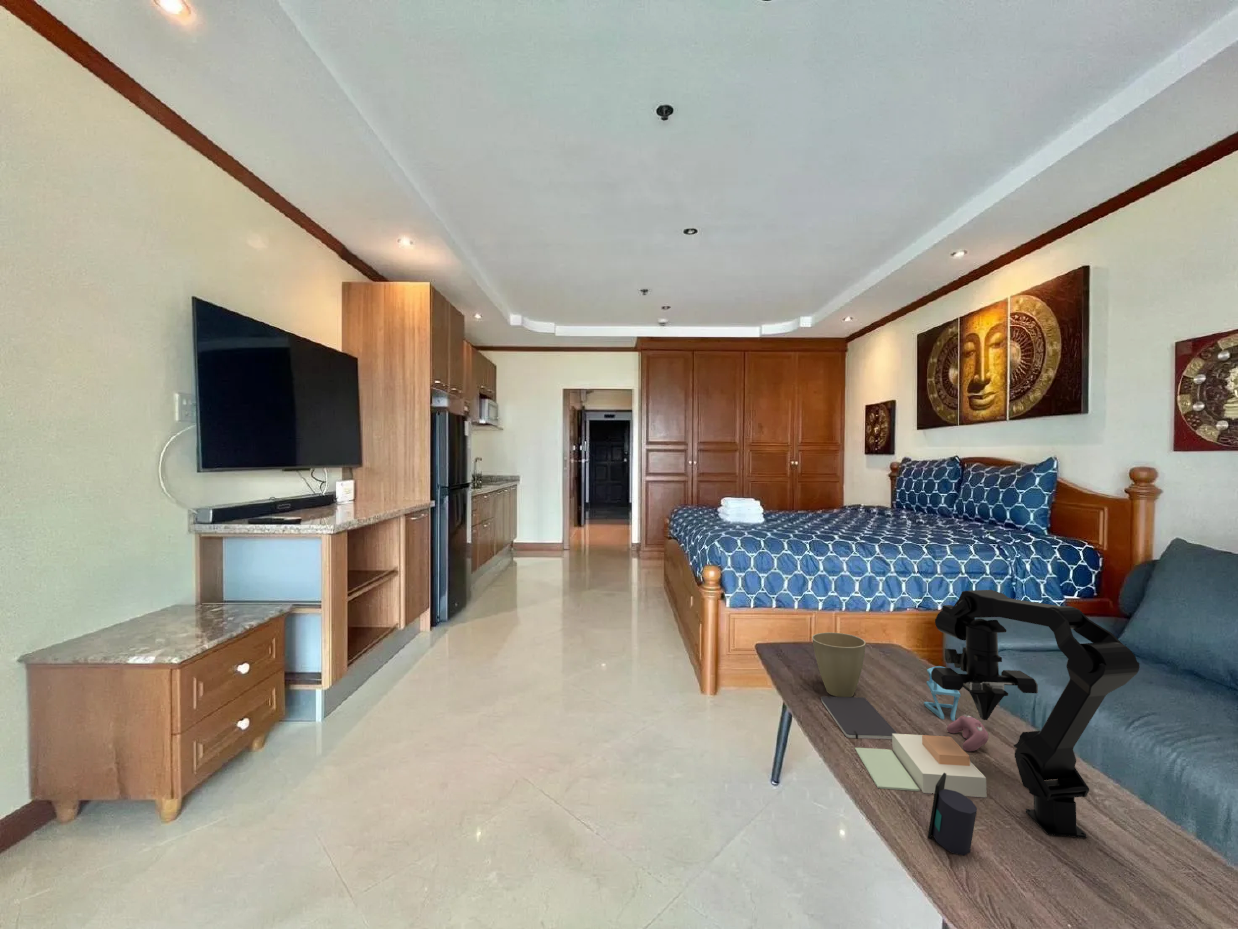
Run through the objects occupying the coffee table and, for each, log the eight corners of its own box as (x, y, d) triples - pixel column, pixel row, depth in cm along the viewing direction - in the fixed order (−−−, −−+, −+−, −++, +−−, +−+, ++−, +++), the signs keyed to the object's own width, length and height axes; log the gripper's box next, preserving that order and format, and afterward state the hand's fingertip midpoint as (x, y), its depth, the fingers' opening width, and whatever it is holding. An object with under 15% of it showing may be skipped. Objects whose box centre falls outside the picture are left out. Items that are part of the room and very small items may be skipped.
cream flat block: (986, 797, 102) (986, 777, 102) (923, 793, 103) (922, 773, 103) (946, 753, 117) (946, 736, 118) (892, 750, 119) (892, 733, 119)
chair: (931, 718, 134) (930, 674, 134) (923, 704, 142) (922, 662, 142) (965, 722, 132) (964, 677, 132) (955, 708, 140) (954, 665, 140)
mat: (919, 791, 104) (919, 789, 104) (877, 788, 105) (877, 786, 105) (891, 751, 119) (891, 749, 119) (854, 749, 120) (854, 747, 120)
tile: (969, 766, 106) (969, 756, 106) (939, 764, 107) (939, 754, 107) (950, 745, 114) (950, 736, 114) (922, 743, 115) (922, 735, 115)
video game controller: (982, 760, 117) (996, 735, 117) (962, 750, 118) (976, 724, 118) (961, 738, 127) (975, 714, 126) (943, 729, 128) (956, 705, 127)
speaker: (915, 830, 92) (921, 777, 92) (936, 823, 95) (942, 770, 94) (957, 864, 85) (963, 806, 85) (978, 855, 88) (985, 799, 87)
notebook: (899, 742, 124) (864, 702, 145) (899, 735, 124) (864, 697, 145) (847, 740, 125) (819, 701, 146) (846, 734, 125) (819, 696, 146)
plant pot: (875, 704, 142) (873, 648, 142) (821, 702, 144) (818, 646, 145) (858, 683, 157) (856, 632, 157) (808, 681, 159) (807, 631, 159)
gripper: (1005, 637, 116) (1007, 704, 116) (919, 634, 119) (921, 700, 118) (1038, 654, 105) (1040, 728, 105) (942, 651, 108) (944, 723, 107)
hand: (983, 719), depth 109 cm, fingers closed
